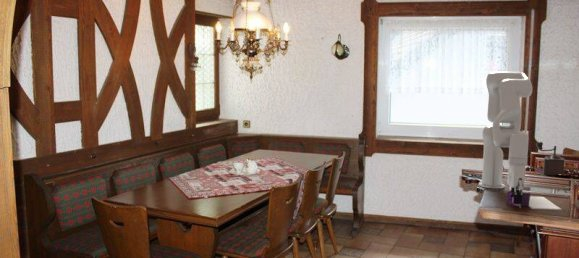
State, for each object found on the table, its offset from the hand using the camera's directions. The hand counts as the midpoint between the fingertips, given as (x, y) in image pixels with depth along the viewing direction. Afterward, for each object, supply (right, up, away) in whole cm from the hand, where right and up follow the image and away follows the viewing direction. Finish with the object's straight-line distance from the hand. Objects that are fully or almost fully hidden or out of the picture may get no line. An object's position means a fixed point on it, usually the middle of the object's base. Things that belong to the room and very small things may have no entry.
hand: (515, 201), depth 232 cm
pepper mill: (+52, +6, +77) cm, 93 cm away
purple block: (+1, -2, 0) cm, 3 cm away
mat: (+13, -1, +6) cm, 14 cm away
